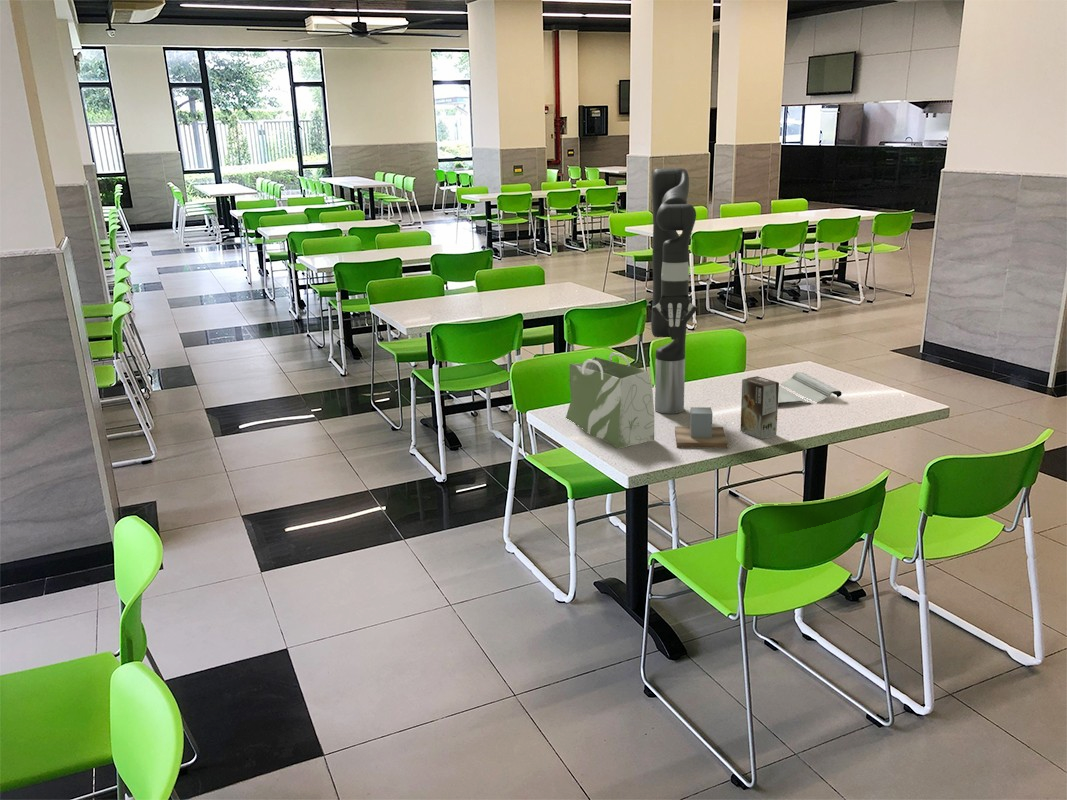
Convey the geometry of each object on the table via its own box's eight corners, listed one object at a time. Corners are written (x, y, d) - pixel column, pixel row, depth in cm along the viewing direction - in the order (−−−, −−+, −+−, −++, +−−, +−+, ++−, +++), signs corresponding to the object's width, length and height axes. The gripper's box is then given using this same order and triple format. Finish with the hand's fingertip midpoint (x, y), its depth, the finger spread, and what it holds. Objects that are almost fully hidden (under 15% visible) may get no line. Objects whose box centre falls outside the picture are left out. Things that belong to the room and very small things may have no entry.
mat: (742, 390, 285) (743, 377, 283) (804, 384, 289) (804, 371, 288) (775, 409, 263) (776, 395, 261) (841, 402, 268) (842, 389, 266)
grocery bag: (561, 419, 259) (560, 347, 252) (599, 412, 265) (599, 342, 258) (616, 449, 231) (616, 369, 225) (657, 440, 237) (658, 362, 230)
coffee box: (777, 435, 238) (780, 382, 233) (761, 439, 235) (764, 385, 230) (754, 427, 245) (757, 375, 241) (738, 431, 242) (741, 378, 238)
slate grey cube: (689, 431, 239) (690, 407, 237) (710, 431, 238) (710, 407, 236) (690, 437, 234) (691, 413, 232) (711, 438, 233) (712, 413, 231)
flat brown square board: (674, 431, 244) (675, 407, 242) (722, 431, 242) (723, 407, 240) (676, 447, 231) (677, 422, 229) (727, 448, 229) (728, 422, 227)
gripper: (698, 275, 230) (696, 336, 235) (650, 276, 231) (650, 336, 236) (700, 279, 223) (698, 342, 228) (651, 280, 224) (650, 342, 229)
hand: (673, 339), depth 232 cm, fingers closed
